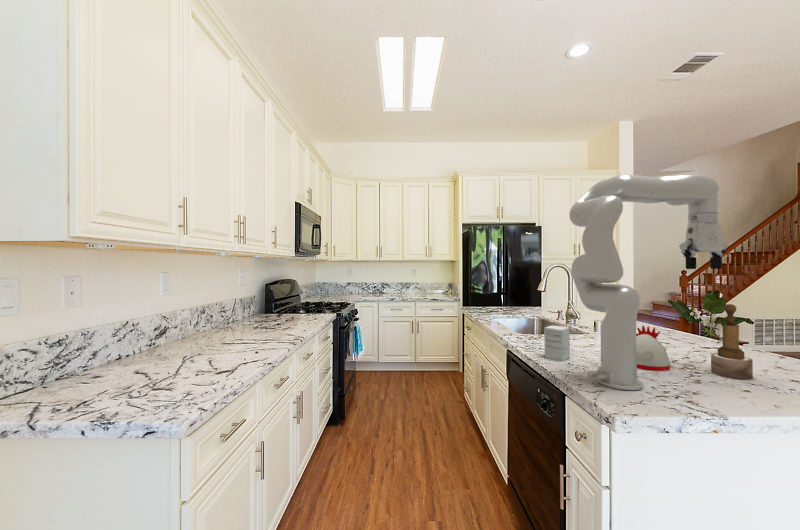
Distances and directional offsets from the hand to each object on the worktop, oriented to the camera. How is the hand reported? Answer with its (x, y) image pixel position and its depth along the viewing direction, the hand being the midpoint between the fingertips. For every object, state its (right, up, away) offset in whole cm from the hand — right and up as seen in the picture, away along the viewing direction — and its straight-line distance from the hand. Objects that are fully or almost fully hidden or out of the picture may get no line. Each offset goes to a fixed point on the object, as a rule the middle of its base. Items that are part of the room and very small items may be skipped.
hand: (703, 268), depth 113 cm
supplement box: (-40, -37, +21) cm, 59 cm away
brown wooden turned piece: (+8, -30, -1) cm, 31 cm away
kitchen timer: (-12, -37, +11) cm, 40 cm away
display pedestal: (+9, -36, -1) cm, 37 cm away
